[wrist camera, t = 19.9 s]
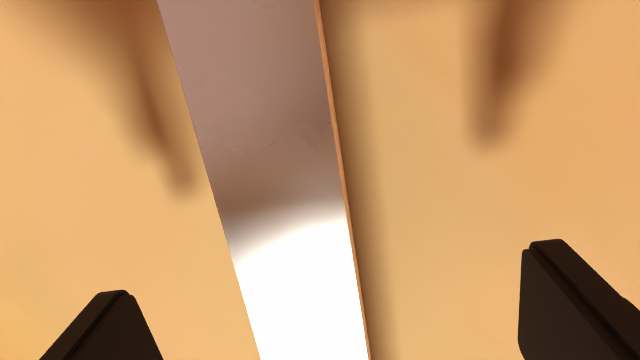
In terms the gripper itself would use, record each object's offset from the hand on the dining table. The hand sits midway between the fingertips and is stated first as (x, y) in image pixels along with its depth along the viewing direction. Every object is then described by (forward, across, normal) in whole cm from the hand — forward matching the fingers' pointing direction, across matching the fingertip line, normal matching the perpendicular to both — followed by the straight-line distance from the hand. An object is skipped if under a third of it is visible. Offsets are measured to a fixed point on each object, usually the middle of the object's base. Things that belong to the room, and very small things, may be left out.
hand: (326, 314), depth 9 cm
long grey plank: (+4, 0, +1) cm, 4 cm away
